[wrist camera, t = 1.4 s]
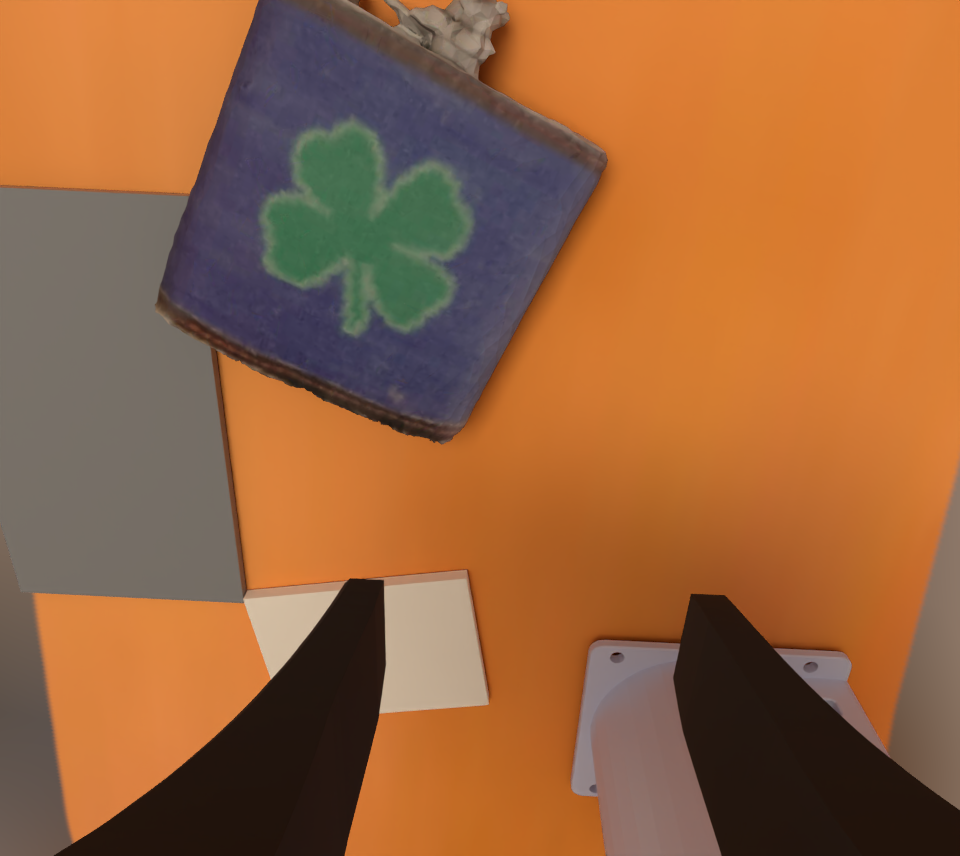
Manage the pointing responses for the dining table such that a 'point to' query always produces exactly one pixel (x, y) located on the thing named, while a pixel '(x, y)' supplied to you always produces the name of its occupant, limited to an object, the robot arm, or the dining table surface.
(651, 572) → the dining table surface
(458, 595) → the napkin
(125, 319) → the board
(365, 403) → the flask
